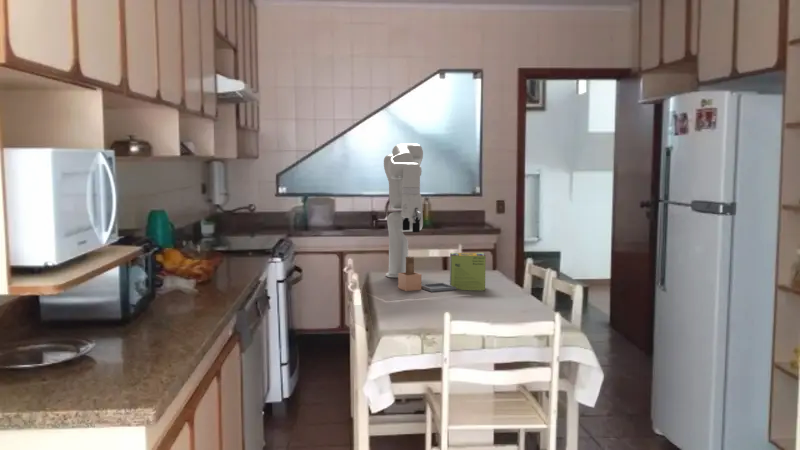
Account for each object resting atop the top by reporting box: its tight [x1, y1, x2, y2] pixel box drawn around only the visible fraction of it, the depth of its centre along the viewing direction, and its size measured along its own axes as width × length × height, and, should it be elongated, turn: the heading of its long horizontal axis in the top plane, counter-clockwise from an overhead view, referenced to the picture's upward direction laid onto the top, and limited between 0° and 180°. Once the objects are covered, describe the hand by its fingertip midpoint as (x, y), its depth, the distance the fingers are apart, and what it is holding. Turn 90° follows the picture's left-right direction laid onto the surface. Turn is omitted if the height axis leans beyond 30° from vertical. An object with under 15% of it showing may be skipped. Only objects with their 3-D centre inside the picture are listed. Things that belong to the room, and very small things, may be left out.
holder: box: [397, 271, 422, 292], centre depth 319 cm, size 8×8×8 cm
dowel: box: [406, 256, 415, 275], centre depth 319 cm, size 4×4×14 cm
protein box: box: [449, 252, 487, 291], centre depth 325 cm, size 10×15×16 cm
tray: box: [421, 282, 457, 293], centre depth 319 cm, size 12×12×2 cm
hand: (411, 231), depth 317 cm, fingers open, 9 cm apart
